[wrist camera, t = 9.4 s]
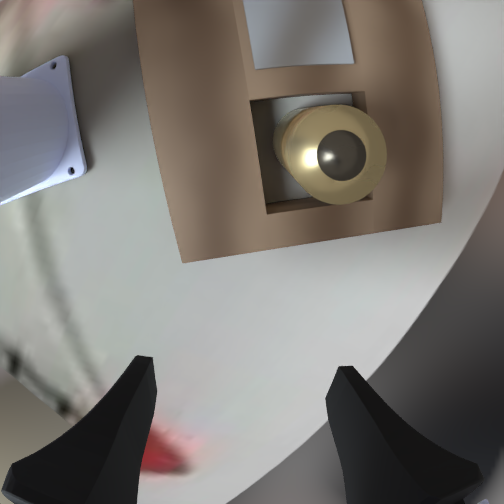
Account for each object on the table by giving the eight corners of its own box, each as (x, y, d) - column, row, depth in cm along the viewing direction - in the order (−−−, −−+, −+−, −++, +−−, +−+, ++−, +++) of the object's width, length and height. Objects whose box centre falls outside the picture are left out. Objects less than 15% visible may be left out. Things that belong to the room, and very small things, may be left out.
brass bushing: (280, 181, 18) (300, 214, 12) (266, 114, 16) (281, 112, 10) (345, 170, 17) (392, 196, 12) (334, 104, 16) (381, 100, 10)
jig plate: (187, 248, 19) (181, 265, 17) (141, -1, 12) (130, -14, 10) (425, 212, 19) (443, 224, 17) (399, -15, 12) (416, -26, 10)
